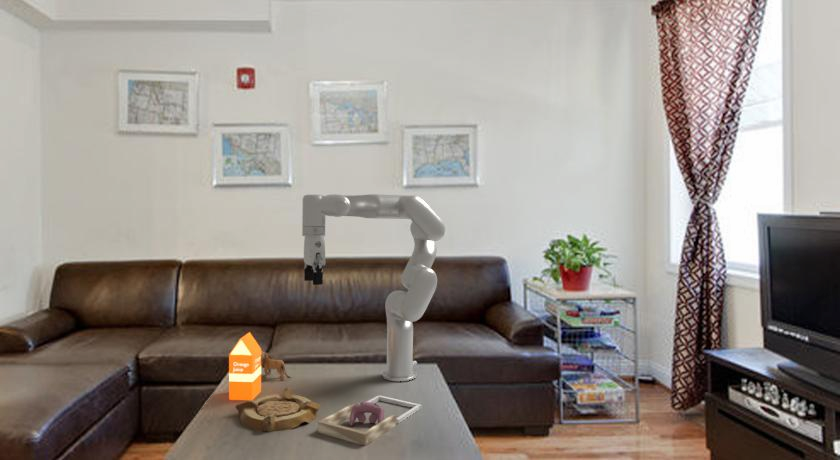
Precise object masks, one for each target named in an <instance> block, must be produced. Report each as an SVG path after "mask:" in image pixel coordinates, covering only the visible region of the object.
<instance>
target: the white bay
mask: <svg viewBox="0 0 840 460" xmlns="http://www.w3.org/2000/svg"><path fill="white" fill-rule="evenodd" d="M380 401H381V402H384V403H389V404H394V405H397V404H398V405H397V406H403V407H406V406H407V408H410V407H412V408H410V409H409V410H407V411H406V412H404V413H403V414H401V415H400V416H398V417H396V424H401V423H403V422H404V421H405V420H407V419H408V418H409V416H410V415H411V416H413V415H414V414H415V412H416V411H417V412H418V410H419V409H420V408H421V409H422V404H420V403H415V402H410V401H406V400H402V399H396V398H393V397H388V396H384V395H380V394H378V395H377V396H374V397H372V398H371V399H369V400H367V401H366V402H372V403H376V404H377V402H380ZM421 409H420V410H421ZM420 410H419V411H420ZM417 412H416V413H417ZM413 413H414V414H413ZM412 414H413V415H412ZM411 416H410V417H411ZM407 417H408V418H407ZM406 418H407V419H406ZM403 420H404V421H403ZM400 422H401V423H400Z"/></svg>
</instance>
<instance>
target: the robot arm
mask: <svg viewBox="0 0 840 460" xmlns="http://www.w3.org/2000/svg"><path fill="white" fill-rule="evenodd" d="M327 216H328V217H336V218H339V217H357V218H358V217H359V218H365V219H385V220H386V219H390V220H392V219H393V220H395V219H396V220H411V223H410V228H409V229H410V230H409V231H410V233H411V236H412V238H413V241H414V247H413V251H412V253H411V256H410V257H409V260H408V261H407V264H406V265H405V268H404V269H403V272H402V274H401V276H400V281H401V284H402V285H403V287H404V288H406V289H408V290H407V291H404V290H399V289H397V290H393V291H391V293H389V294H388V295H387V297H386V299H385V302H384V304H385V305H384V307H385V315H386V331H387V332H386V369H385V370H384V371H383V372H382V378H383V379H384V380H387V381H389V382H399V383H400V381H401V382H409V380H410V381H413V380H414V378H415V379H416V378H417V377H416V376H417V374H418V373H417V372H416V371H415V370H414V367H416V366H417V365H418V362H417V360H414V358H413V356H414V354H413V353H414V347H413V346H414V345H413V344H414V324H413V322H414V323H415V322H417V321H418V320H420V319H421V318H422V317H423V316H424V313H425V312H426V310H427V308H428V306H429V304H430V302H431V300H432V298H433V297H434V294H435V292H436V289H437V285H438V276H437V274H436V272H435V270H433V269H432V266H433V264H434V262H435V260H436V256H437V244H436V242H437V241H440V240H442V238H443V237H444V236H445V232H446V226H445V223H444V222H443V220H442V219H441V218H440V216H438V214H436V212H435V211H434V210H433V209H432V208H431V207H430V206H429V204H427V202H426V201H425V200H423V199H422V198H421V197H420V196H417V195H399V194H398V195H397V194H396V195H395V194H377V193H376V194H359V195H358V194H357V195H351V194H349V195H345V194H344V195H343V194H327V195H323V194H305V195H303V197H302V217H301V218H302V219H301V220H302V222H301V223H302V227H301V231H302V233H301V234H302V236H303V237H304V242H303V262H304V267H303V268H304V272H303V273H304V277H303V278H304V279H303V280H304V281H305V282H310V281H311V282H312V285H314V286H317V285H318V286H319V285H320V286H321V285H323V283H324V276H323V275H324V273H323V272H324V266H326V244H325V236H326V217H327ZM412 379H413V380H412Z"/></svg>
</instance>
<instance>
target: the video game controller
mask: <svg viewBox="0 0 840 460" xmlns="http://www.w3.org/2000/svg"><path fill="white" fill-rule="evenodd" d="M353 405H354V407H353V408H352V411H351V414H350V418H349V427H353V425H354V424H355V422H356V419H358V422H359V423H362V424H363V423H365V422H366V421H367V416H366V414H370V415H369V417H368V422H369V423H371V424H376V423H377V424H378V423H380V422H381V421H383V420H384V418H385V409H384V407H383V406H381V405H380V404H379V403H377V402H376V403H372V402H367V401H363V402H358V403H355V404H353Z"/></svg>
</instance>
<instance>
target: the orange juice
mask: <svg viewBox="0 0 840 460" xmlns="http://www.w3.org/2000/svg"><path fill="white" fill-rule="evenodd" d="M261 351H262V348H261V346H260V345H259V344H258V342H257V340H256V339H255V338H254V336H253V334H252V333H251V332H250V331H249V332H248V333H246V334H245V335H243V336H242V337H240V339H239V340H238V341H237V343H236V344H235V346H234V347H233V349H232V350H231V352H230V353H229V355H228V371H229V373H228V383H229V384H228V386H229V387H228V393H229V394H228V397H229V398H228V400H230V401H249V400H252V401H254V400H255V398H257V396H258V395H259V394H260V393H261V392H262V367H261Z"/></svg>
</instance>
